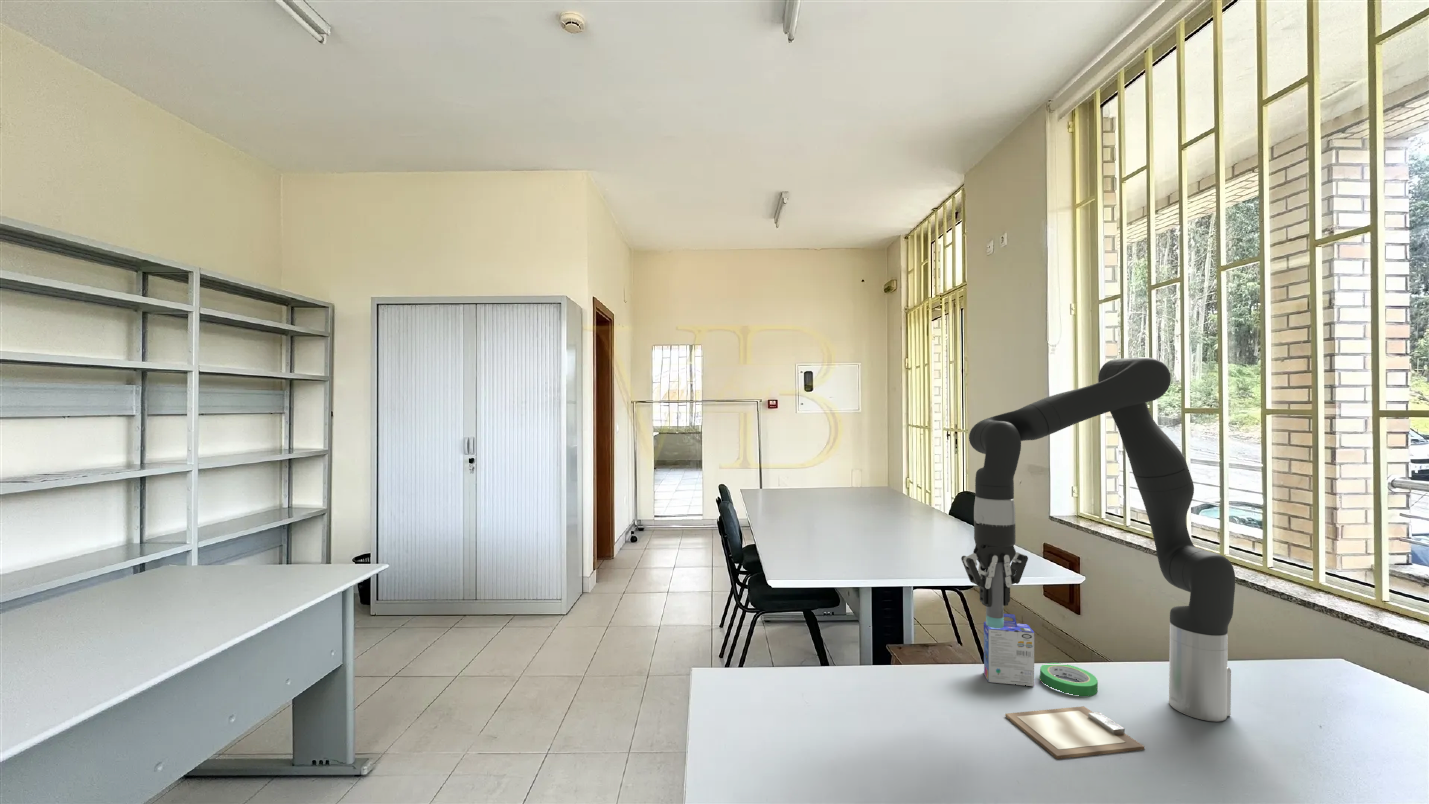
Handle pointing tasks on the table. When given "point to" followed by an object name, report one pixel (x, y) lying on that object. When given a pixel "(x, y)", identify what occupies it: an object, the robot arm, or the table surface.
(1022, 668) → the ink cartridge box
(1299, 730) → the table surface
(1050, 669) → the tape roll
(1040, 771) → the table surface
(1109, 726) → the clipboard
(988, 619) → the marker
